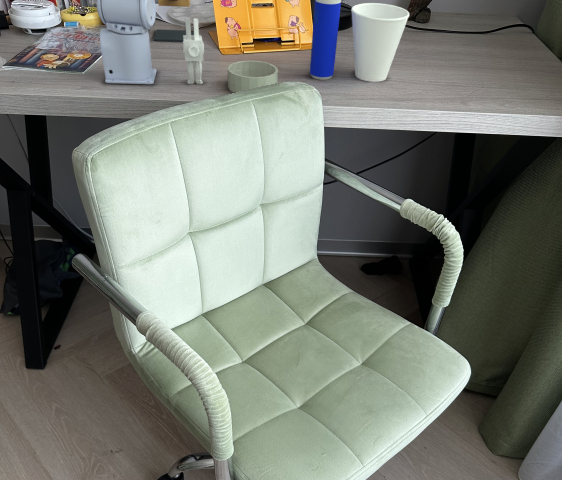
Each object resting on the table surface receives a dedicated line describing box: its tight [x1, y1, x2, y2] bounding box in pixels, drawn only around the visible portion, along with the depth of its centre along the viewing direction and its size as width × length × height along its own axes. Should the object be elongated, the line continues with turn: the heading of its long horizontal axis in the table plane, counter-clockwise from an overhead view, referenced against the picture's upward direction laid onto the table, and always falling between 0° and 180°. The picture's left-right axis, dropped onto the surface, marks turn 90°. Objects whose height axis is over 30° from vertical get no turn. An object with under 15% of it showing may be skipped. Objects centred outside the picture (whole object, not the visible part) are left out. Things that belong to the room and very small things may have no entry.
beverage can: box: [309, 0, 342, 81], centre depth 118 cm, size 5×5×15 cm
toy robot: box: [182, 17, 205, 85], centre depth 113 cm, size 4×8×12 cm, turn 9°
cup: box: [350, 2, 410, 83], centre depth 121 cm, size 12×12×12 cm
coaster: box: [153, 28, 194, 43], centre depth 138 cm, size 9×8×1 cm
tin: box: [227, 60, 279, 93], centre depth 116 cm, size 10×10×4 cm
